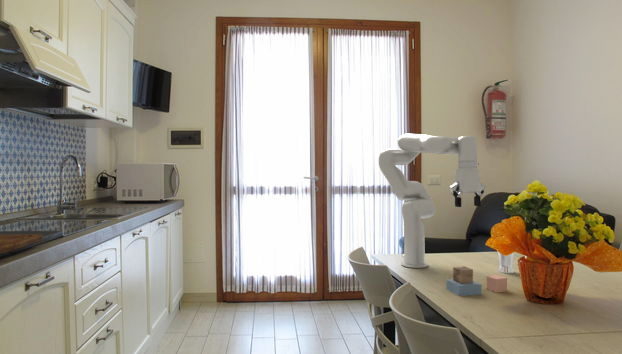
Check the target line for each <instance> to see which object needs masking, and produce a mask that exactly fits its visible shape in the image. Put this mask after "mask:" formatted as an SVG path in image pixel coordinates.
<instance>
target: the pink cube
mask: <svg viewBox="0 0 622 354" xmlns="http://www.w3.org/2000/svg"><path fill="white" fill-rule="evenodd" d="M486 289H487V290H488V291H491V292H495V293H502V292H503V293H504V292H508V278H507V277H505V276H502V275H498V274H493V275H486Z"/></svg>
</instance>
